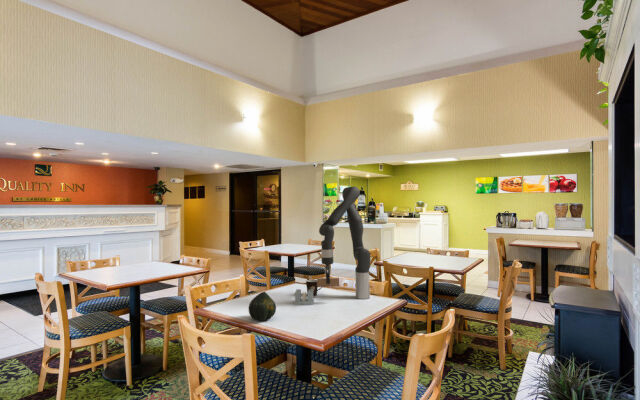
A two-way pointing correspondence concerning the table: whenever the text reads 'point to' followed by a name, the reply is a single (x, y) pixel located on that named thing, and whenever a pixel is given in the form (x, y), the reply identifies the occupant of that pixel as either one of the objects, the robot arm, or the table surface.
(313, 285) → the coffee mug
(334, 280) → the glasses bar
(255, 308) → the squash
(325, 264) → the robot arm
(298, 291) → the display stand
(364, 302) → the table surface
